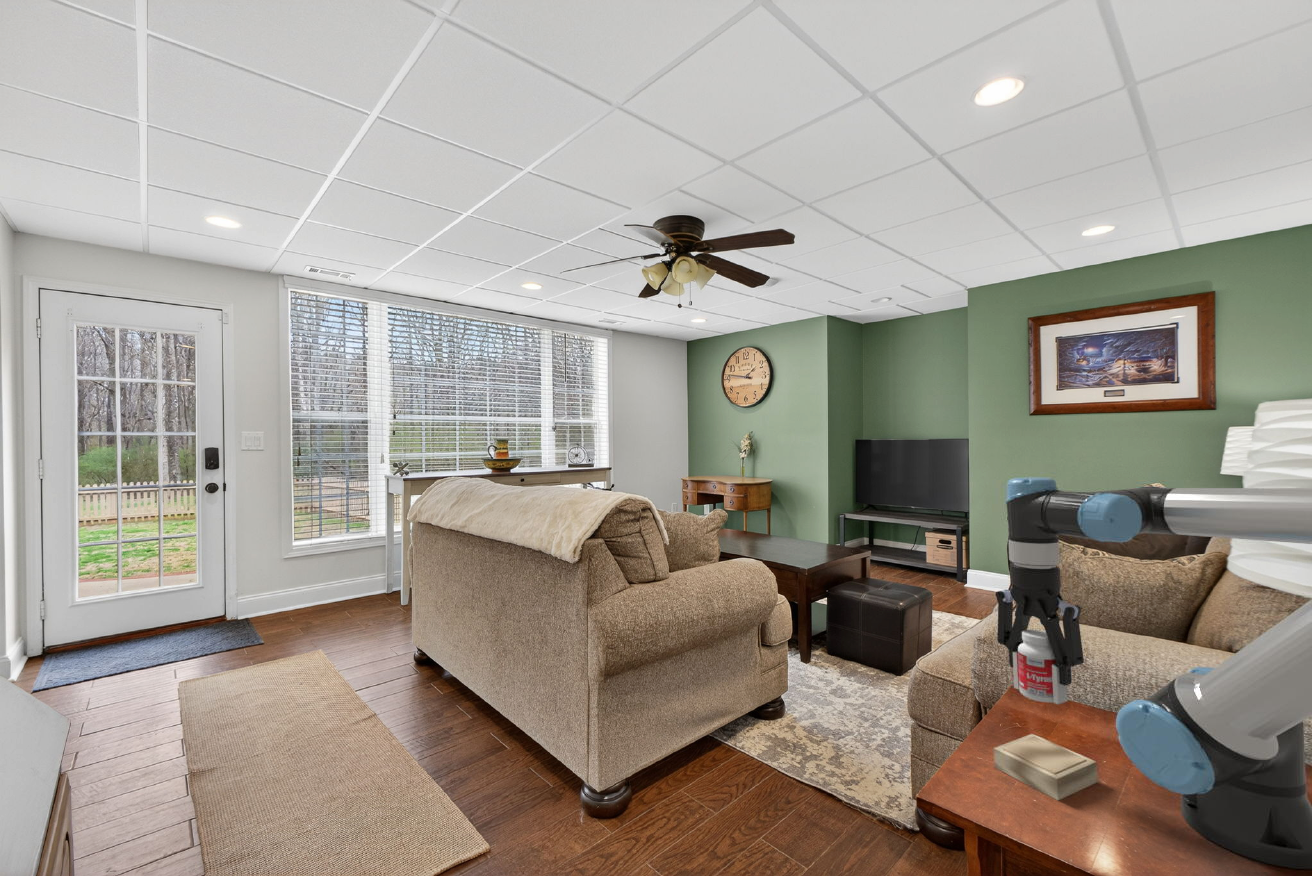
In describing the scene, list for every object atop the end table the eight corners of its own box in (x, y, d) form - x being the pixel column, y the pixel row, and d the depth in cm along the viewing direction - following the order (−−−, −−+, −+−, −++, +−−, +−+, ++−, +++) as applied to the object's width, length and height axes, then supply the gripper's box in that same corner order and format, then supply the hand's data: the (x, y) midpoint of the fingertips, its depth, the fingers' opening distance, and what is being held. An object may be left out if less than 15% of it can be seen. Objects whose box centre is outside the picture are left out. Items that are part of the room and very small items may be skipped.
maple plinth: (1097, 782, 99) (1096, 760, 99) (1058, 800, 94) (1056, 777, 94) (1032, 752, 109) (1031, 732, 109) (994, 767, 104) (993, 747, 104)
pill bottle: (1024, 701, 100) (1021, 637, 100) (1015, 687, 106) (1013, 626, 106) (1066, 705, 98) (1063, 640, 98) (1055, 690, 103) (1052, 629, 104)
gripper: (1107, 571, 95) (1113, 711, 94) (996, 553, 112) (1002, 671, 112) (1080, 577, 92) (1086, 722, 91) (970, 557, 109) (976, 679, 109)
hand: (1040, 694), depth 102 cm, fingers closed on pill bottle, 6 cm apart
